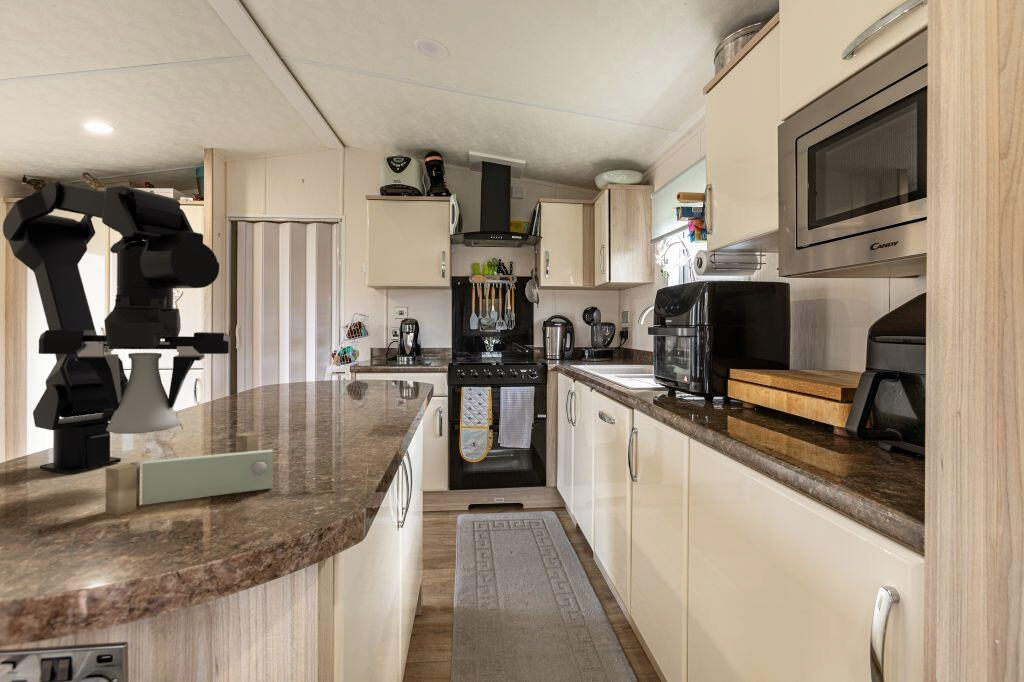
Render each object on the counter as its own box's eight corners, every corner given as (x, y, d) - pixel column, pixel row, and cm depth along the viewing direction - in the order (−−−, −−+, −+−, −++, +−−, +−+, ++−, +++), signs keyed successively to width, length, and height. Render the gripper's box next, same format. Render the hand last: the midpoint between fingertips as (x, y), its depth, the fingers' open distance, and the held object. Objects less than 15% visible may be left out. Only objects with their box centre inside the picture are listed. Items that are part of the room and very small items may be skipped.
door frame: (105, 512, 50) (105, 467, 50) (247, 465, 69) (247, 432, 68) (118, 515, 50) (119, 469, 50) (257, 466, 68) (258, 433, 68)
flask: (139, 437, 56) (140, 355, 55) (92, 433, 57) (92, 353, 57) (192, 426, 63) (193, 353, 62) (148, 422, 64) (149, 351, 64)
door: (144, 500, 53) (144, 460, 53) (272, 485, 60) (272, 449, 60) (140, 507, 51) (140, 466, 51) (272, 490, 58) (273, 453, 58)
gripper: (16, 278, 48) (16, 426, 48) (226, 290, 57) (225, 414, 57) (57, 285, 58) (56, 408, 58) (231, 294, 67) (229, 401, 67)
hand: (144, 408), depth 60 cm, fingers closed on flask, 5 cm apart
